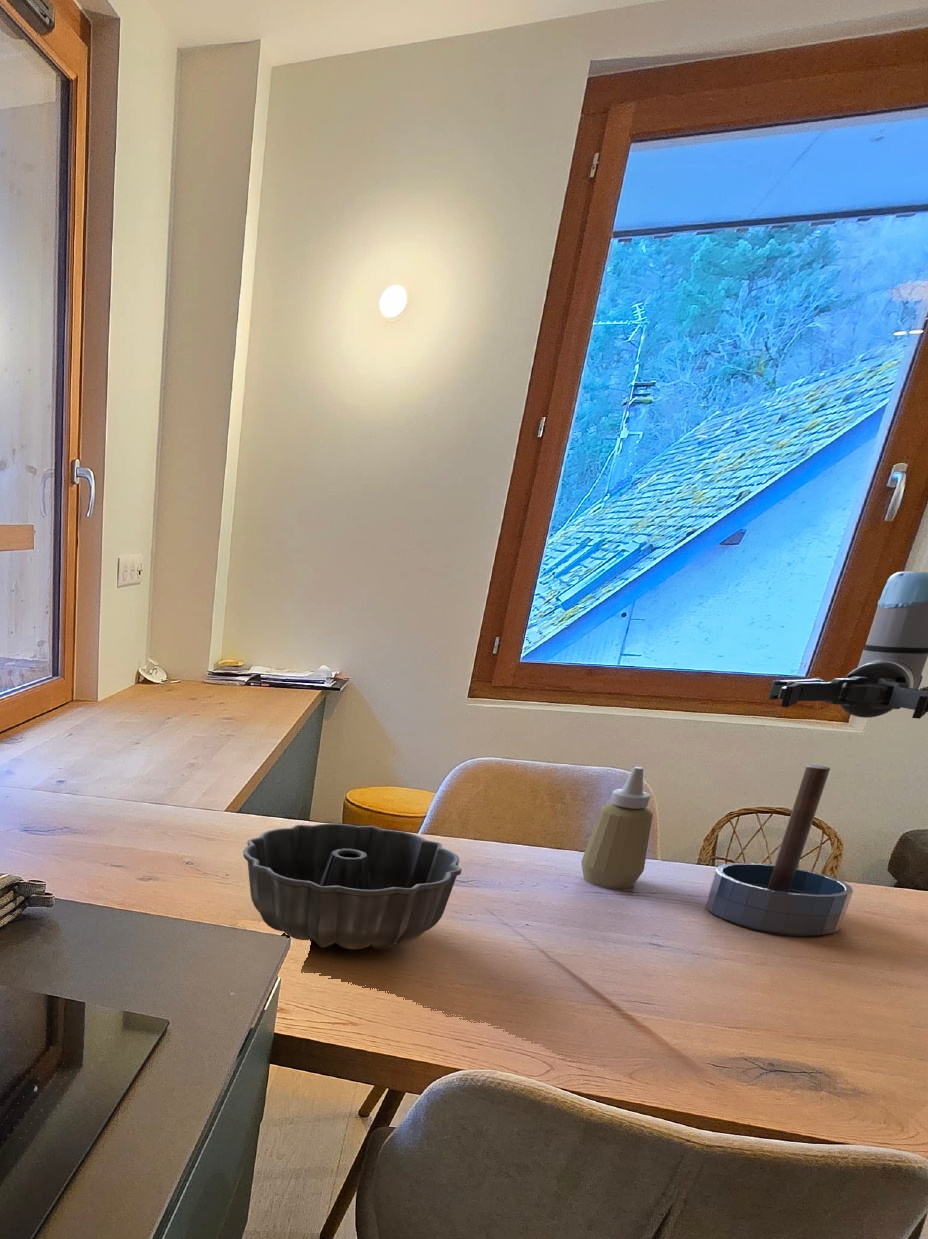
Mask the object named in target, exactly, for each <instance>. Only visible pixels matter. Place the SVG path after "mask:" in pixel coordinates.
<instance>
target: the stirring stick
mask: <svg viewBox="0 0 928 1239" xmlns="http://www.w3.org/2000/svg"><path fill="white" fill-rule="evenodd" d="M830 771H831V767H830V766H824V765H817V764H816V765H815V764H809V765H806V766H805V769H804V772H803V776H802V778H801V782H800V784H799V788H798V791H797V794H796V797H795V800H794V803H793V807H792V810H791V813H790V815H789V819H788V822H787V825H786V829H785V831H784V835H783V838H782V840H781V844H780V847H779V850H778V852H777V856H776V860H775V863H774V864H773V865H774V869H773V872H772V875H771V878H770V881H769V884H768V887H767V889H771V890H777V891H784V892H789V891H790V888H791V885H792V882H793V879H794V876H795V873H796V870H797V868H798V867H799V864H800V861H801V858H802V855H803V852H804V849H805V846H806V843H807V840H808V837H809V834H810V831H811V829H812V828H811V827H812V825H813V822H814V818H815V816H816V813H817V810H818V807H819V804H820V801H821V798H822V795H823V792H824V788H825V785H826V783H827V780H828V777H829V773H830Z"/></svg>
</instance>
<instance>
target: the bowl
mask: <svg viewBox="0 0 928 1239" xmlns="http://www.w3.org/2000/svg"><path fill="white" fill-rule="evenodd" d="M774 865H775V864H770V863H760V862H759V863H758V862H731V863H723V864H720V865H719V866H716V868H715V871H714V874H713V878H712V881H711V885H710V888H709V891H708V895H707V899H706V901H705V906H704V907H705V908H706V909H707V910H708V911H709V912H710V913H711V914H713V915H715V916H717V917H719V918H721V919H723V920H725V921H727V922H730V923H732V924H735V925H737V926H740V927H743V928H746V929H749V930H753V931H758V932H762V933H766V934H772V935H779V936H788V937H801V938H803V937H804V938H807V937H808V938H809V937H820V936H824V935H830V934H834V933H836V932H838V931H839V930H840V929H841V927H842V924H843V920H844V918H845V915H846V913H847V911H848V907H849V904H850V902H851V899H852V896H853V893H854V890H853V887H852V886H851V885H850V884H848V883H847V882H845V881H843V880H840V879H838V878H835V877H832V876H830V875H826V874H823V873H819V872H816V871H812V870H807V869H801V868H798V867H797V870H796V873H795V876H794V879H793V882H792V885H791V888H790V891H789V892H784V891H777V890H771V889H767V887H768V884H769V881H770V878H771V875H772V872H773V869H774Z"/></svg>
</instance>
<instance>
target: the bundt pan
mask: <svg viewBox="0 0 928 1239" xmlns="http://www.w3.org/2000/svg"><path fill="white" fill-rule="evenodd" d="M246 841H247V842H246V845H247V846H246V847H244V849H243V852H242V856H243V858H244V859H245V861H247V870H248V881H249V892H250V897H251V898H250V899H251V901H252V904H253V906H254V908H255V909H256V910H257V911H258V913H259V914H260V916H261V919H262V920H263V922H264V923H265V924H266V925H267V926H268V927H270V928H271V929H272V930H275V931H279V932H283V933H285V935H287V936H288V937H291V938H292V939H295V940H299V941H311V940H313V941H314V942H315V943H316V944H317V945H318V946H319V947H320V948H327V947H330V946H331V945H334V944H337V945H338V946H340V947H342V948H344V949H347V950H362V949H366V948H368V947H369V946H370V947H372V948H375V949H376V950H387V949H389V948H391V947H393V946H394V945H395V944H406V943H408V942H412V941H414V940H416V939H417V938H419V937H421V936H422V935H423V934H424V933H425V932H427V931H429V930H431V929H433V927H435V926H436V925H437V924H438V923H439V921H440V920H441V918H442V917H443V915H444V912H445V910H446V907H447V904H448V901H449V899H450V896H451V893H452V890H453V888H454V885H455V882H456V879H457V878H458V877H457V876H461V874H462V870H463V869H462V868H461V867H459V863H460V856H459V855H457V854H456V853H455V852H453V851H452V850H449V849H446V848H443V845H442V843H441V842H439V841H438V842H437V841H433V840H428V839H425V838H424V837H422V836H420V835H417V834H415V833H411V832H407V831H401V830H396V829H383V828H381V827H379V826H375V825H360V826H359V825H355V824H348V823H347V824H346V823H319V824H313V825H307V824H296V825H293V826H291V827H284V828H274V829H271V830H266V831H264V832H262V833H261V834H260V835H259V836H258V837H253V838H249V839H248V840H246Z"/></svg>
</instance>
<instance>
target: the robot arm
mask: <svg viewBox="0 0 928 1239" xmlns="http://www.w3.org/2000/svg"><path fill="white" fill-rule="evenodd" d="M927 659H928V571H897V572H895V573H893V574H892V575H890V576H889V578H888V579H887V581H886V583H885V586H884V587H883V589H882V593H881V596H880V598H879V600H878V602H877V608H876V611H875V614H874V618H873V621H872V623H871V626H870V630H869V634H868V637H867V640H866V642H865V645H864V648H863V650H862V653H861V655H860V658H859V662H858V665H857V668H855V669H853V670H852V671H850V672H849V673H848V674H846V675H845V677H844V678H833V679H832V680H831V681H826V680H825V679H823V678H821V677H815V678H807V679H784V680H781V679H776V680H772V682H771V685H770V689H769V692H768V696H767V700H771V701H775V700H781V701H780V704H779V706H780V707H781V708H789V707H792V706H794V705H796V704H798V702H825V703H826V704H829V705H839V706H840V707H841V708H842V710H844V711H845V712H846V713H847V714H849V715H851V716H853V717H857V718H864V719H868V718H875V717H880V716H884V715H885V714H888V713H889V712H892V711H893V710H900V709H901V708H902V709H908V710H911V711H912V710H913V714H912V717H911V718H912V719H918V720H920V719H922V718H923V717H924V716H925V715H926V714H927V713H928V686H920V685H921V684H922V680H923V675H922V674H923V671H924V669H925V666H926V662H927Z"/></svg>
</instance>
